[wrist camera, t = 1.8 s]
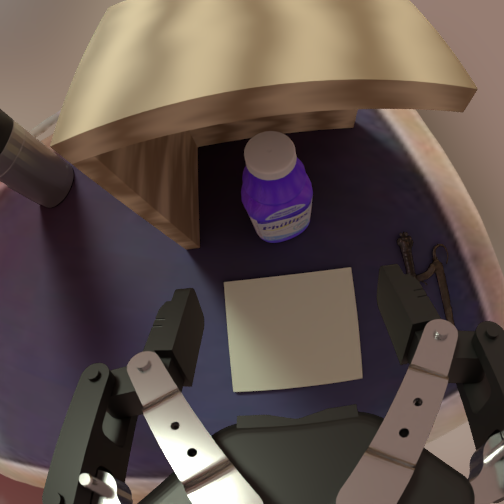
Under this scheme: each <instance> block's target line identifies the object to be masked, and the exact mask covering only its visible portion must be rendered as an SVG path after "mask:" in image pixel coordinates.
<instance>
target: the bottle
mask: <svg viewBox="0 0 504 504" xmlns="http://www.w3.org/2000/svg"><path fill="white" fill-rule="evenodd" d="M244 158H245V163H246V166H245V168H244V170H243V175H242V181H243V184H242V188H241V200H242V203H243V205H244V207H245V209H246V210H247V213H248V215H249V217H250V219H251V221H252V224H253V226H254V228H255V231H256V233H257V234H258V236H259V237H260V238H261V239H263V240H264V241H266V242H269V243H278V242H283V241H286V240H289V239H292V238H294V237H296V236H298V235H299V234H301V233H302V232H303V231H304V230H305V229H306V228H307V227H308V225H309V223H310V217H311V208H312V198H313V190H312V184H311V181H310V179H309V177H308V175H307V174H306V173H305V168H304V165H303V163H302V162H301V160H299V159H298V158H297V156H296V150H295V146H294V143H293V142H292V140H291V139H290V138H289V137H288V136H286V135H285V134H283V133H280V132H277V131H265V132H261V133H259V134H257V135H255V136H253V137H252V138H251V139H250V140H249V141H248V143H247V144H246V146H245V149H244Z"/></svg>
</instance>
